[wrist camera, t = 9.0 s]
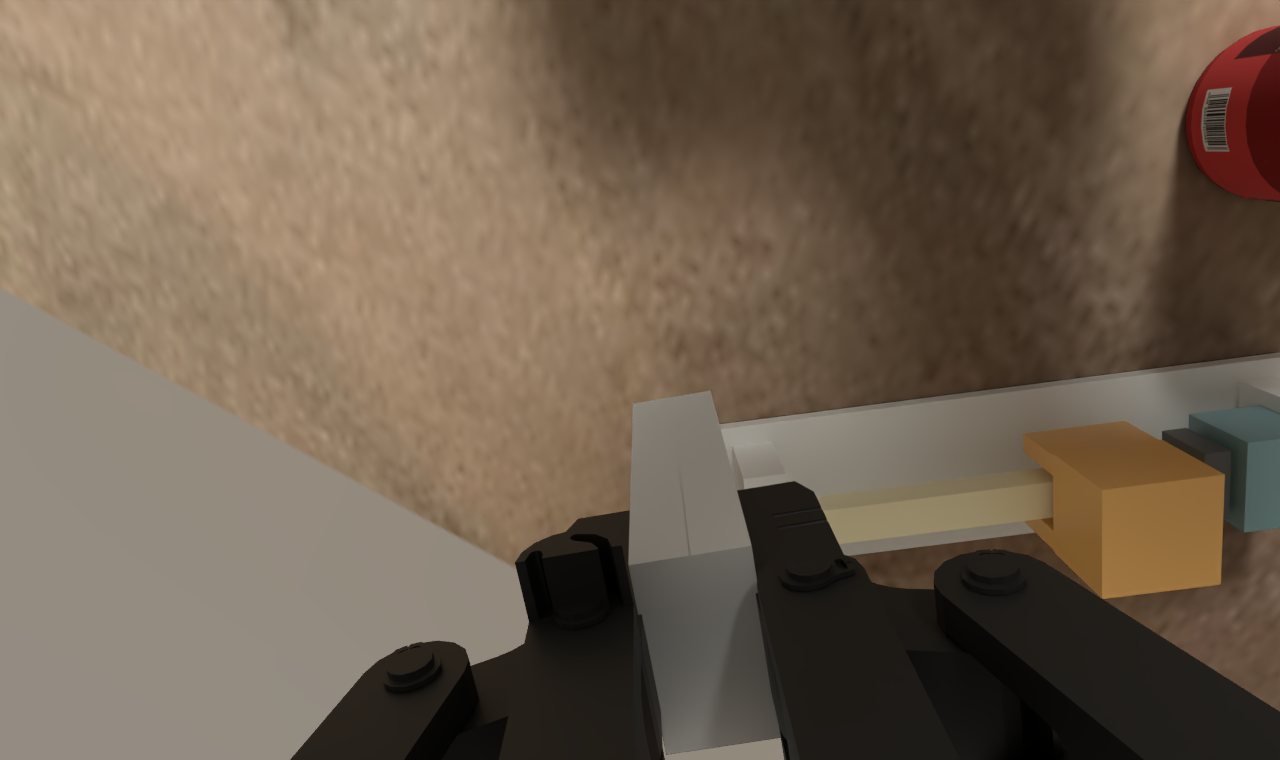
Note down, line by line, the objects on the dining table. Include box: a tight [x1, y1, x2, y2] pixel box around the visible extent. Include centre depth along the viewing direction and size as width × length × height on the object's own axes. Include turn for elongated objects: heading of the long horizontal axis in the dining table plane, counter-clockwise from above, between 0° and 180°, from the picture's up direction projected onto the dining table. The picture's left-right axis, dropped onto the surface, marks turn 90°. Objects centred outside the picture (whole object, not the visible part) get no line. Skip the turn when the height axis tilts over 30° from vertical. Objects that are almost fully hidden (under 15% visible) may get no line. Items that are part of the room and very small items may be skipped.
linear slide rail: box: [719, 352, 1280, 556], centre depth 44 cm, size 8×29×7 cm, turn 97°
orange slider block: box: [1023, 421, 1225, 599], centre depth 41 cm, size 5×5×8 cm
